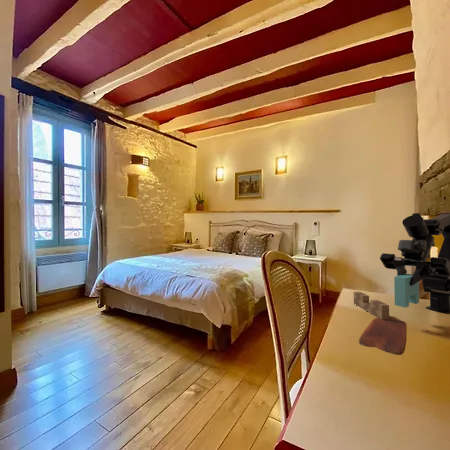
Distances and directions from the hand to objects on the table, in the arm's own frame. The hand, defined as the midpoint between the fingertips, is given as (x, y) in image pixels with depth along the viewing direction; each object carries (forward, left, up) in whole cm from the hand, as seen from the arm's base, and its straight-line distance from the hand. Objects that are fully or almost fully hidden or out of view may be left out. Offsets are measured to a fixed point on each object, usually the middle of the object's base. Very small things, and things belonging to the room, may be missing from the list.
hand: (404, 283), depth 80 cm
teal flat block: (-1, 0, -7) cm, 7 cm away
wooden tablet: (+11, +1, -14) cm, 18 cm away
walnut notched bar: (-1, -14, -13) cm, 19 cm away
